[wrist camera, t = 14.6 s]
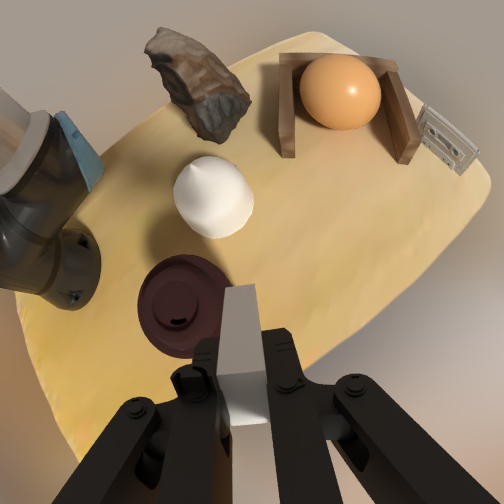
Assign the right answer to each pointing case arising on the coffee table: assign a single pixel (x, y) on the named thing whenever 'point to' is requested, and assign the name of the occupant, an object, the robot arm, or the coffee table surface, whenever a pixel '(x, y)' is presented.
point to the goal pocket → (391, 95)
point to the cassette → (431, 135)
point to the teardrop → (213, 197)
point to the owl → (198, 84)
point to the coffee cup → (182, 304)
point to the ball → (340, 91)
